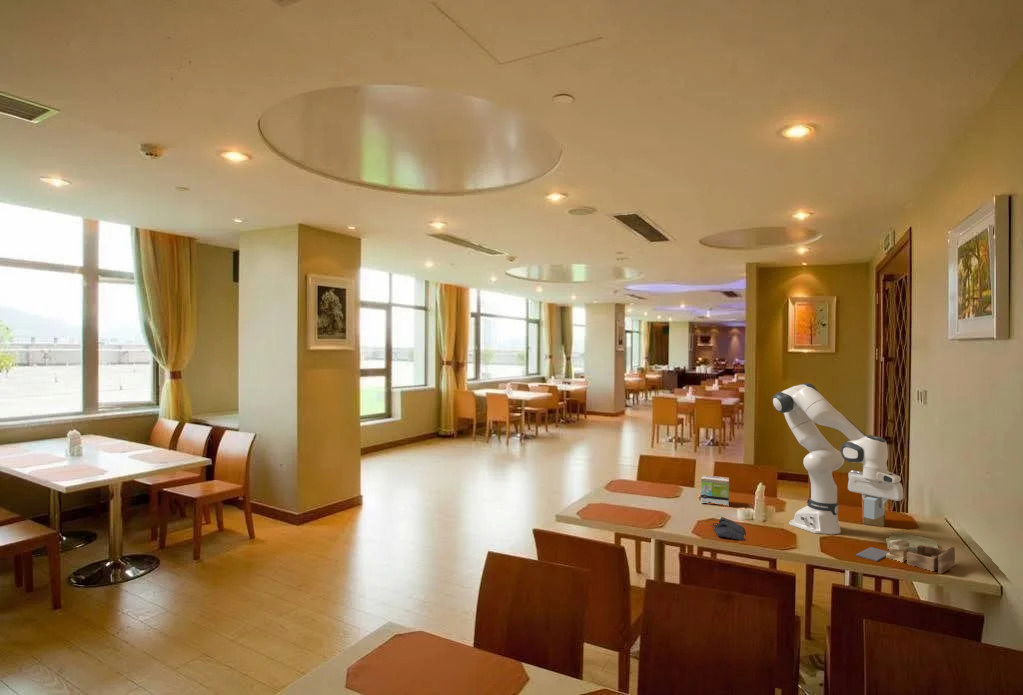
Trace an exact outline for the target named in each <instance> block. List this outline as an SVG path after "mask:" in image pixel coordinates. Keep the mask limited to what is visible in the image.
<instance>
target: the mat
mask: <svg viewBox="0 0 1023 695" xmlns="http://www.w3.org/2000/svg"><path fill="white" fill-rule="evenodd" d="M887 553H889V550H888V551H887V550H884V549H880V548H877V547H872V546H869V547H868V548H865V549H864V550H861V551H860V552H858V553H855V556H856V557H860V558H863V559H866V560H870V561H874V562H879V561H881V560H883V559H884V558H886V554H887Z"/></svg>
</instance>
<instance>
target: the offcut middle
mask: <svg viewBox="0 0 1023 695" xmlns="http://www.w3.org/2000/svg"><path fill="white" fill-rule="evenodd" d="M908 551H909V549H902V550H898V549H895V548H892V547H890V548H889V550H888V552H889V554H891V555H895V556H900V557H905V556H906V555H907V552H908Z"/></svg>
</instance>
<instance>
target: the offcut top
mask: <svg viewBox="0 0 1023 695" xmlns="http://www.w3.org/2000/svg"><path fill="white" fill-rule="evenodd" d="M890 547H892V548H895V549H898V550H902V549H909V542H906V541H903V540H901V539H899V540H892V541H890Z"/></svg>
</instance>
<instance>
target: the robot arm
mask: <svg viewBox="0 0 1023 695" xmlns="http://www.w3.org/2000/svg"><path fill="white" fill-rule="evenodd" d="M771 400H772V401H771V402H772V405H773V408H774V409H775V410H776V411H777V412H779V413H782V414H783V416H784V418H785V421H786V423H787V425H788V427H789V428H790V430H791V432H792V434H793V436H794V438H796V441H797V442H798V444H799V445H800V446H802V447H803V448H805V449H806V450H807V451H808V452H809V453H807V454H806V455H805V457H803V462H802V463H803V466H804V468H805V470H806V471H807V472H808V473H807V474H808V476H809V480H810V498H808V499H806V500H805V503H806V504H807V505H805V506H803V507H802V508H799V509H798V510H796V512H795V513H794V516H793V519H791V520H789V522H788V525H790V526H792V527H795V528H797V529H801V530H805V531H806V532H811V533H813V534H826V535H827V534H828V535H838V534H840V533H842V529H841V528H840V523H839V516H838V514H839V502H838V486H837V483H836V482H835V480H834V477H833V472H834V471H837V470H839V469H840V468H841V467H842V466H843V465H844V463H845V461H846V462H848V463H853V464H855V463H860V464H862V470H863V472H862V471H858V470H850V471H849V472H848V476H847V477H848V483H847V490H848V491H849V492H852V493H857V494H861V498H862V497H863V499H864V498H866V496H867V495H871V496H876V497H880V498H882V500H884V501H883V502H882V503H880V504H879V508H884V504H885V505H886V503H887V502H888V500H891V501H895V502H896V501H897V502H901V501H902V500H903V499H904V488H903V484H902V482H901V480H902V478H901V476H900V475H897V474H896V473H894V472H891V471H889V470H888V469H889V468H888V466H887V465H888V464H887V461H888V459H889V458H888V457H889V455H888V454H889V449H888V444H887V440H886V439H884V438H883V437H880V436H878V435H872V434H871V435H870V434H867V435H866V434H865V433H864V432H863V431H862V430H861V429H860V428H859V427H857V426H856V425H855V423H853V422H852V421H851V420H850V419H849V418H847V417H846V416H845V415H843V413H841V412H840V411H839V410H837V409H836V407H834V406H833V405H832V404H831V403H830V402H829V401H828V400H827V399H826V398H825V397H824V396H823V395H822V394H821V393H820V392H818V389H817V388H816V387H815V385H814V384H812V383H810V382H809V383H808V382H805V383H801V384H798V385H794V386H791V387H789V388H787V389H784V390H782V391H778V392H776V394H774V395H772V399H771ZM817 425H820V426H822V427H823V426H824V427H828V428H831V429H835V430H837V431H839V432H841V433H842V434H843V435H844V436H845V437H846V438H847V439H848V441H845V442H843V443H842V444H841V446H840V450H839V449H837V448H835V447H834V446H833V445H832V444H831V443H830V442H829V441H828V440H827V439H826V437H825V436H824V435H823V434H822V433H821V431H820V430H819V428H818V426H817Z"/></svg>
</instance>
